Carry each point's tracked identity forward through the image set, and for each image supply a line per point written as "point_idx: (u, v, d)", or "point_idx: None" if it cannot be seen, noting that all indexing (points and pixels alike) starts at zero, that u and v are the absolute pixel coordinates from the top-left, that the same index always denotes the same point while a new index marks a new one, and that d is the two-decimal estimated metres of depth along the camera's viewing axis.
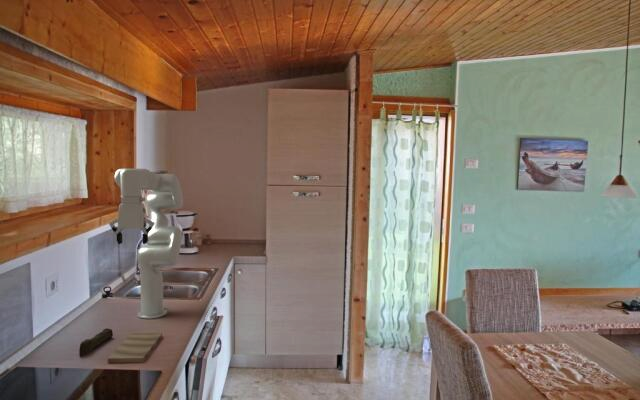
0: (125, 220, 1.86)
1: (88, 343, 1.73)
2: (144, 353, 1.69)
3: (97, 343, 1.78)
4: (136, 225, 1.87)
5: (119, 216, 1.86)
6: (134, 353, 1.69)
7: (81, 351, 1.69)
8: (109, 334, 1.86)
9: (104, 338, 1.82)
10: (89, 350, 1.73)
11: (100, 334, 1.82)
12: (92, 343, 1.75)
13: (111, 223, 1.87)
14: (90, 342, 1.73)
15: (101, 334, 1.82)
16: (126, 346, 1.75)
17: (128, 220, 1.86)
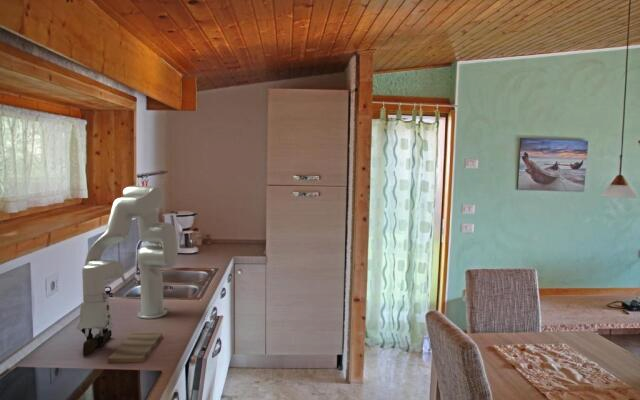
0: (88, 319, 1.75)
1: (91, 342, 1.73)
2: (144, 353, 1.69)
3: (98, 343, 1.78)
4: (99, 324, 1.76)
5: (81, 315, 1.75)
6: (134, 353, 1.69)
7: (85, 351, 1.69)
8: (108, 334, 1.86)
9: None
10: (92, 350, 1.73)
11: None
12: (94, 342, 1.75)
13: (78, 327, 1.77)
14: (92, 342, 1.73)
15: None
16: (126, 346, 1.75)
17: (91, 319, 1.75)
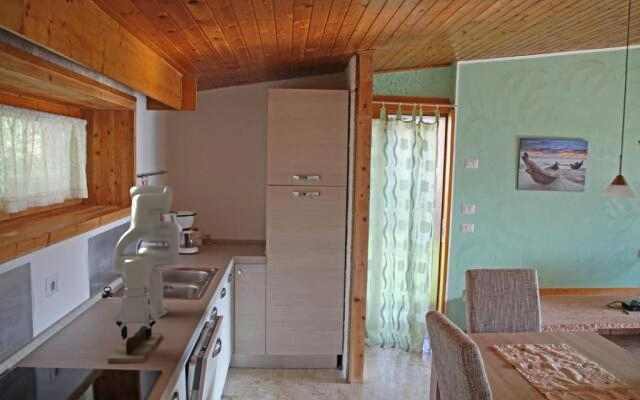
0: (129, 314, 1.73)
1: (133, 340, 1.71)
2: (144, 353, 1.69)
3: (139, 341, 1.76)
4: (141, 319, 1.73)
5: (122, 309, 1.73)
6: (134, 353, 1.69)
7: (128, 349, 1.67)
8: None
9: (144, 336, 1.80)
10: (134, 348, 1.71)
11: (140, 332, 1.80)
12: (136, 340, 1.73)
13: (115, 317, 1.74)
14: (135, 339, 1.71)
15: (141, 332, 1.80)
16: None
17: (132, 313, 1.73)
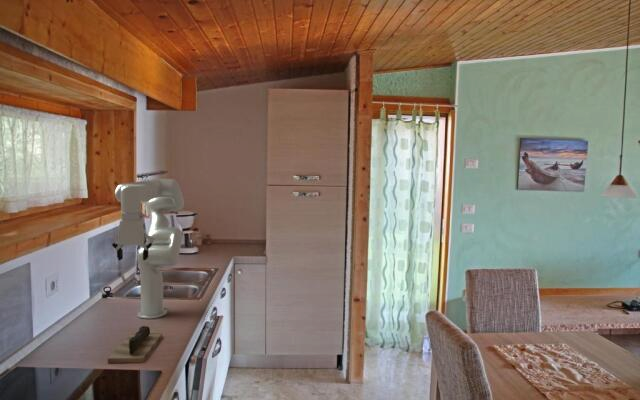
0: (126, 237, 1.86)
1: (136, 340, 1.71)
2: (144, 353, 1.69)
3: (141, 340, 1.76)
4: (136, 241, 1.87)
5: (119, 232, 1.86)
6: (134, 353, 1.69)
7: (131, 349, 1.67)
8: (147, 331, 1.84)
9: (144, 335, 1.81)
10: (136, 347, 1.71)
11: (141, 332, 1.80)
12: (138, 340, 1.73)
13: (111, 239, 1.88)
14: (137, 339, 1.72)
15: (142, 331, 1.80)
16: (126, 346, 1.75)
17: (128, 236, 1.87)
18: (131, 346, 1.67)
